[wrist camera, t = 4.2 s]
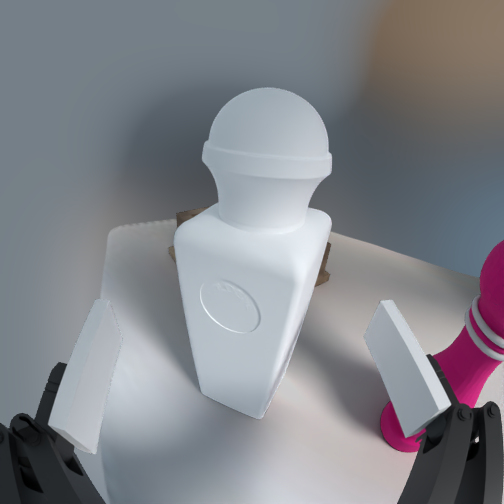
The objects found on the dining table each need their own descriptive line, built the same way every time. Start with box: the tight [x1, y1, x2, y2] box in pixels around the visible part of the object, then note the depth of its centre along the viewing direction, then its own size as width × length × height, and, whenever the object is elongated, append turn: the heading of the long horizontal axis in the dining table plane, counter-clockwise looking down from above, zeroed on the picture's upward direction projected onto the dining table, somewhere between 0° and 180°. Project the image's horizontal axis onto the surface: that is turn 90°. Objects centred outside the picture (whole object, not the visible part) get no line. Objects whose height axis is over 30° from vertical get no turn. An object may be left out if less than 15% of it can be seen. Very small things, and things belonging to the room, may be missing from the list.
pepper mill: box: [380, 240, 504, 452], centre depth 12 cm, size 7×7×20 cm
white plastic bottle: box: [174, 88, 332, 419], centre depth 16 cm, size 6×6×22 cm
